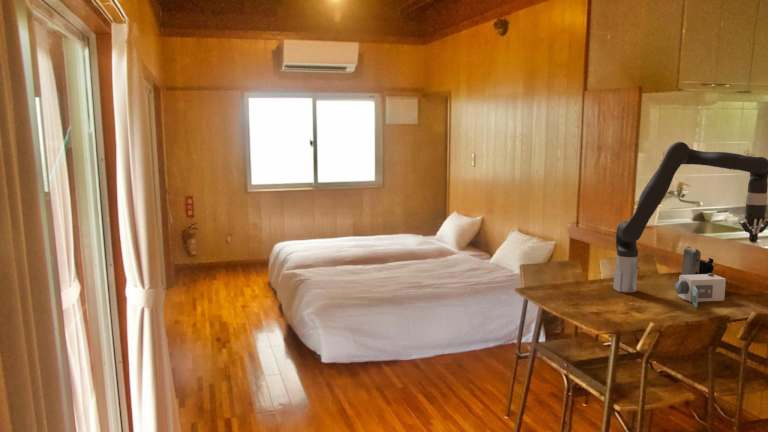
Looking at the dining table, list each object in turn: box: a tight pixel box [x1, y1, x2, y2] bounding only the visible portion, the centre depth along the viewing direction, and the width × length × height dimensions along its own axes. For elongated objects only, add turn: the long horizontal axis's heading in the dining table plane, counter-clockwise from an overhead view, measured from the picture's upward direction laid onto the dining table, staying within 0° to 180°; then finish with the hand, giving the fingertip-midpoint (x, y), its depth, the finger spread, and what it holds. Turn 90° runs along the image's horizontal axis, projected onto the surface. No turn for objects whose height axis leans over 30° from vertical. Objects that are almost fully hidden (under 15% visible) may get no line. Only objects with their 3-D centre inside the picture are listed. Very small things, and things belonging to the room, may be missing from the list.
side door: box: [691, 285, 699, 308], centre depth 243 cm, size 11×2×7 cm, turn 158°
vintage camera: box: [680, 246, 716, 275], centre depth 270 cm, size 10×15×20 cm, turn 89°
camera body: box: [674, 272, 727, 303], centre depth 253 cm, size 19×9×11 cm, turn 95°
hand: (753, 242), depth 244 cm, fingers closed
